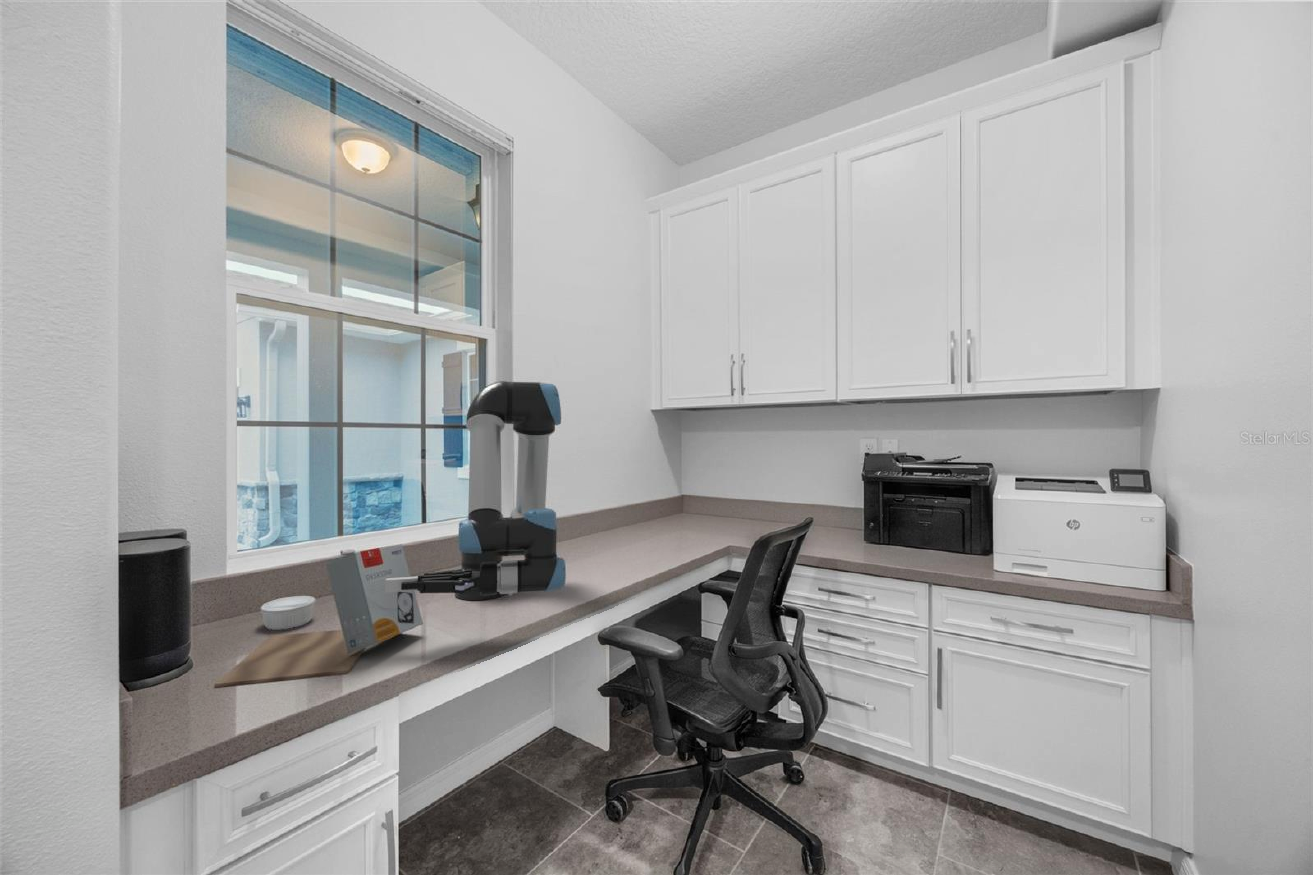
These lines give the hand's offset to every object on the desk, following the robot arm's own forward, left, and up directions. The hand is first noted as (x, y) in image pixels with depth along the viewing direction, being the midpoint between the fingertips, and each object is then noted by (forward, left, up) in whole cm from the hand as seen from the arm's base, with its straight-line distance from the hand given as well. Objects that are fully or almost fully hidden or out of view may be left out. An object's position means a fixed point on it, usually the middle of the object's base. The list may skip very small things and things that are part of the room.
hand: (386, 585), depth 114 cm
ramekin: (+27, -23, -14) cm, 38 cm away
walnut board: (+16, -1, -14) cm, 21 cm away
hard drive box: (0, -1, -12) cm, 12 cm away
